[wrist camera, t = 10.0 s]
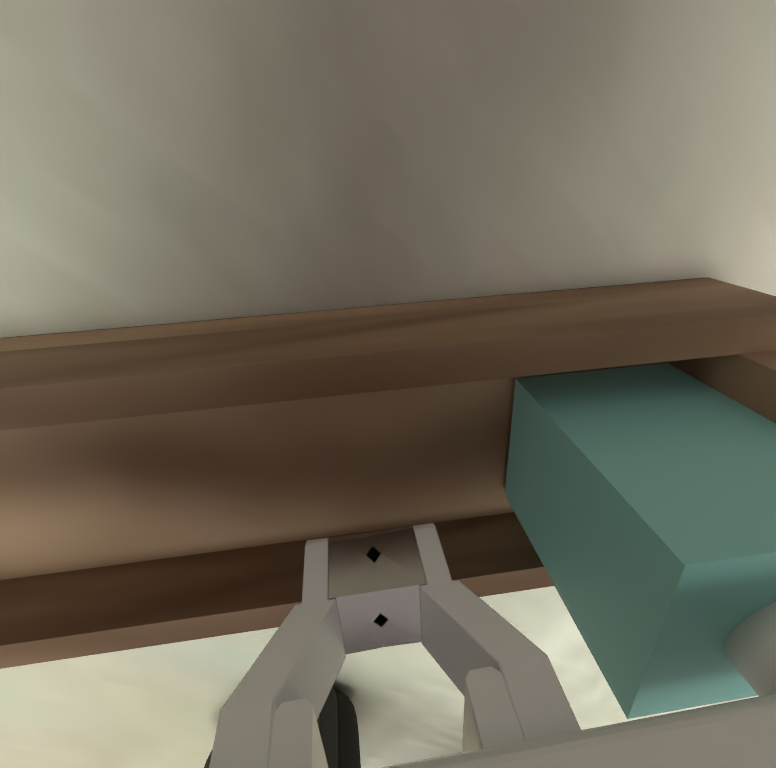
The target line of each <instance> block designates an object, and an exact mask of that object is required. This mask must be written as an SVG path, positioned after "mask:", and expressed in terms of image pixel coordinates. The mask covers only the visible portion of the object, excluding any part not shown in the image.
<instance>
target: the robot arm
mask: <svg viewBox="0 0 776 768" xmlns="http://www.w3.org/2000/svg"><path fill="white" fill-rule="evenodd" d="M417 642H422V644H423V646H424V647H425V648H426V649H427V651H428V652H429V653H430V654H431V656H432V657H433V658H434V659H435V660H436V662H437V663H438V664H439V665H440V667H441V668H442V669H443V670H444V672H445V673H446V674H447V675H448V677H449V678H450V679H451V680H452V682H453V683H454V684H455V685H456V686H457V688H458V689H459V690H460V691H461V693H462V694H463V695H464V696H465V701H464V723H463V744H462V747H463V751H464V752H463V753H457V754H452V755H447V756H441V757H436V758H431V759H426V760H420V761H415V762H410V763H404V764H399V765H394V766H388V767H383V768H776V694H770V695H765V696H760V697H755V698H749V699H744V700H739V701H734V702H728V703H723V704H718V705H712V706H707V707H702V708H697V709H691V710H686V711H681V712H675V713H670V714H665V715H660V716H654V717H649V718H644V719H638V720H633V721H628V722H622V723H617V724H612V725H606V726H601V727H596V728H590V729H585V730H581V729H580V726H579V724H578V722H577V720H576V718H575V715H574V713H573V711H572V709H571V707H570V704H569V702H568V700H567V698H566V696H565V693H564V691H563V689H562V687H561V685H560V682H559V680H558V678H557V676H556V674H555V671H554V669H553V667H552V665H551V662H550V660H549V658H548V656H547V655H546V654H545V653H544V652H543V651H542V650H540V649H539V648H538V647H537V646H536V645H535V644H533V643H532V642H531V641H530V640H529V639H528V638H526V637H525V636H524V635H523V634H522V633H520V632H519V631H518V630H517V629H516V628H515V627H513V626H512V625H511V624H510V623H509V622H507V621H506V620H505V619H504V618H503V617H502V616H500V615H499V614H498V613H497V612H496V611H495V610H493V609H492V608H491V607H490V606H489V605H487V604H486V603H485V602H484V601H483V600H482V599H480V598H479V597H478V596H477V595H476V594H474V593H473V592H472V591H471V590H470V589H469V588H467V587H466V586H465V585H464V584H463V583H462V582H460V581H459V580H456V581H452V579H451V575H450V572H449V569H448V566H447V562H446V559H445V556H444V553H443V549H442V546H441V543H440V540H439V536H438V533H437V530H436V527H435V525H434V524H433V523H429V524H422V525H415V526H408V527H402V528H395V529H389V530H382V531H375V532H371V533H363V534H355V535H346V536H337V537H329V538H323V539H315V540H307V542H306V545H305V557H304V573H303V590H302V604H298V605H295V606H294V607H293V609H292V610H291V611H290V613H289V614H288V616H287V617H286V618H285V620H284V621H283V623H282V624H281V625H280V627H279V628H278V630H277V631H276V633H275V634H274V635H273V637H272V638H271V640H270V641H269V642H268V644H267V645H266V647H265V648H264V650H263V651H262V652H261V654H260V655H259V657H258V658H257V659H256V661H255V662H254V664H253V665H252V666H251V668H250V669H249V671H248V672H247V674H246V675H245V676H244V678H243V679H242V681H241V682H240V683H239V685H238V686H237V688H236V689H235V691H234V692H233V693H232V695H231V696H230V698H229V699H228V700H227V702H226V703H225V705H224V706H223V707H222V709H221V711H220V716H219V720H218V725H217V730H216V735H215V740H214V745H213V750H212V755H211V760H210V765H209V768H328V764H327V760H326V756H325V752H324V748H323V744H322V740H321V736H320V732H319V728H318V724H317V719H318V717H319V714H320V712H321V710H322V708H323V706H324V703H325V701H326V699H327V697H328V695H329V693H330V690H331V688H332V686H333V684H334V682H335V679H336V677H337V675H338V673H339V671H340V669H341V666H342V664H343V662H344V660H345V658H346V656H345V654H350V653H355V652H360V651H365V650H370V649H376V648H381V647H387V646H394V645H402V644H409V643H417ZM383 644H384V645H383Z"/></svg>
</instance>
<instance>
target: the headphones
mask: <svg viewBox="0 0 776 768" xmlns="http://www.w3.org/2000/svg"><path fill="white" fill-rule="evenodd" d="M317 724H318V728H319V732H320V736H321V740H322V744H323V748H324V752H325V756H326V760H327V764H328V768H361V764H360V748H359V733H358V725H357V717H356V713H355V709H354V706H353V704H352V702H351V700H350V699H349V698H348V697H347V696H345V695H344V694H342V693H340V692H335V691H334V689H333V688H331V690H330V693H329V695H328V697H327V699H326V701H325V703H324V706H323V708H322V710H321V712H320V714H319V717H318V719H317ZM212 750H213V749H212ZM211 755H212V751H211V753H210V755H209V757H208V759H207V761H206V764H205V767H204V768H209V765H210V760H211Z"/></svg>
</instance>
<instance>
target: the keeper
mask: <svg viewBox="0 0 776 768" xmlns="http://www.w3.org/2000/svg"><path fill="white" fill-rule="evenodd" d="M505 496H506V498H507V500H508V501H509V503H510V505H511V507H512V509H513V511H514V512H515V514H516V516H517V518H518V520H519V522H520V523H521V525H522V527H523V529H524V531H525V532H526V534H527V536H528V538H529V540H530V542H531V543H532V545H533V547H534V549H535V551H536V553H537V554H538V556H539V558H540V560H541V562H542V564H543V565H544V567H545V569H546V571H547V573H548V575H549V576H550V578H551V580H552V582H553V584H554V586H555V587H556V589H557V591H558V593H559V595H560V596H561V598H562V600H563V602H564V604H565V606H566V607H567V609H568V611H569V613H570V615H571V617H572V618H573V620H574V622H575V624H576V626H577V628H578V629H579V631H580V633H581V635H582V637H583V639H584V640H585V642H586V644H587V646H588V648H589V650H590V651H591V653H592V655H593V657H594V659H595V661H596V662H597V664H598V666H599V668H600V670H601V671H602V673H603V675H604V677H605V679H606V681H607V682H608V684H609V686H610V688H611V690H612V692H613V693H614V695H615V697H616V699H617V701H618V703H619V704H620V706H621V708H622V710H623V712H624V714H625V715H626V717H627V719H629V718H635V717H640V716H646V715H652V714H657V713H663V712H668V711H674V710H679V709H685V708H690V707H696V706H701V705H707V704H712V703H718V702H723V701H729V700H734V699H740V698H745V697H751V696H756V695H758V696H759V697H760V696H765V695H770V694H776V423H774V422H772V421H770V420H768V419H767V418H765V417H763V416H761V415H760V414H758V413H756V412H754V411H752V410H751V409H749V408H747V407H745V406H744V405H742V404H740V403H738V402H736V401H735V400H733V399H731V398H729V397H728V396H726V395H724V394H722V393H720V392H719V391H717V390H715V389H713V388H712V387H710V386H708V385H706V384H705V383H703V382H701V381H699V380H697V379H696V378H694V377H692V376H690V375H689V374H687V373H685V372H683V371H681V370H680V369H678V368H676V367H674V366H673V365H671V364H669V363H660V364H651V365H641V366H631V367H622V368H612V369H602V370H593V371H583V372H573V373H564V374H554V375H545V376H535V377H525V378H516V380H515V391H514V401H513V412H512V423H511V433H510V444H509V455H508V465H507V476H506V487H505Z"/></svg>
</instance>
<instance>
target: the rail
mask: <svg viewBox="0 0 776 768" xmlns="http://www.w3.org/2000/svg"><path fill="white" fill-rule="evenodd" d="M660 363H669V364H671V365H673V366H674V367H676V368H678V369H680V370H681V371H683V372H685V373H687V374H689V375H690V376H692V377H694V378H696V379H697V380H699V381H701V382H703V383H705V384H706V385H708V386H710V387H712V388H713V389H715V390H717V391H719V392H720V393H722V394H724V395H726V396H728V397H729V398H731V399H733V400H735V401H736V402H738V403H740V404H742V405H744V406H745V407H747V408H749V409H751V410H752V411H754V412H756V413H758V414H760V415H761V416H763V417H765V418H767V419H768V420H770V421H772V422H774V423H776V296H772V295H769V294H765V293H761V292H758V291H754V290H751V289H747V288H743V287H740V286H736V285H733V284H729V283H726V282H722V281H718V280H715V279H711V278H699V279H688V280H676V281H664V282H653V283H641V284H629V285H617V286H606V287H594V288H582V289H571V290H559V291H547V292H536V293H524V294H512V295H501V296H489V297H477V298H466V299H454V300H442V301H431V302H419V303H407V304H396V305H384V306H372V307H361V308H349V309H337V310H326V311H314V312H302V313H291V314H279V315H267V316H256V317H244V318H232V319H221V320H209V321H197V322H186V323H174V324H162V325H151V326H139V327H127V328H116V329H104V330H92V331H81V332H69V333H57V334H45V335H34V336H22V337H10V338H0V669H1V668H8V667H14V666H21V665H28V664H34V663H41V662H48V661H54V660H61V659H68V658H74V657H81V656H88V655H94V654H101V653H108V652H114V651H121V650H128V649H135V648H141V647H148V646H155V645H161V644H168V643H175V642H181V641H188V640H195V639H201V638H208V637H215V636H221V635H228V634H235V633H241V632H248V631H255V630H261V629H268V628H275V627H280V625H281V624H282V623H283V621H284V620H285V618H286V617H287V616H288V614H289V613H290V611H291V610H292V609H293V607H294V606H295V605H298V604H302V590H303V573H304V557H305V545H306V542H307V540H315V539H323V538H329V537H337V536H346V535H355V534H363V533H371V532H375V531H382V530H389V529H395V528H402V527H408V526H415V525H422V524H429V523H433V524H434V525H435V527H436V530H437V533H438V536H439V540H440V543H441V546H442V549H443V553H444V556H445V559H446V562H447V566H448V569H449V572H450V575H451V579H452V581H456V580H459V581H460V582H462V583H463V584H464V585H465V586H466V587H467V588H469V589H470V590H471V591H472V592H473V593H474V594H476V595H477V596H478V597H482V596H489V595H495V594H502V593H509V592H515V591H522V590H529V589H535V588H542V587H549V586H554V584H553V582H552V580H551V578H550V576H549V575H548V573H547V571H546V569H545V567H544V565H543V564H542V562H541V560H540V558H539V556H538V554H537V553H536V551H535V549H534V547H533V545H532V543H531V542H530V540H529V538H528V536H527V534H526V532H525V531H524V529H523V527H522V525H521V523H520V522H519V520H518V518H517V516H516V514H515V512H514V511H513V509H512V507H511V505H510V503H509V501H508V500H507V498H506V496H505V487H506V476H507V465H508V455H509V444H510V433H511V423H512V412H513V401H514V391H515V380H516V378H525V377H535V376H545V375H554V374H564V373H573V372H583V371H593V370H602V369H612V368H622V367H631V366H641V365H651V364H660Z"/></svg>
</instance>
